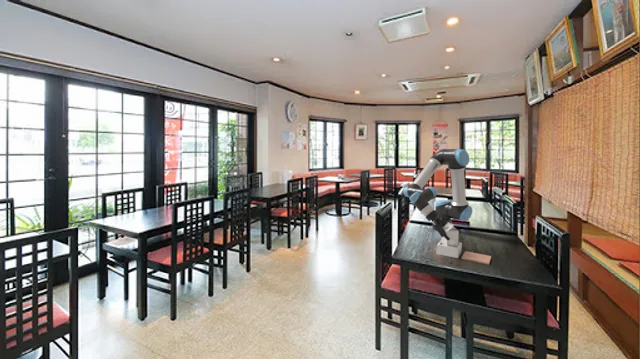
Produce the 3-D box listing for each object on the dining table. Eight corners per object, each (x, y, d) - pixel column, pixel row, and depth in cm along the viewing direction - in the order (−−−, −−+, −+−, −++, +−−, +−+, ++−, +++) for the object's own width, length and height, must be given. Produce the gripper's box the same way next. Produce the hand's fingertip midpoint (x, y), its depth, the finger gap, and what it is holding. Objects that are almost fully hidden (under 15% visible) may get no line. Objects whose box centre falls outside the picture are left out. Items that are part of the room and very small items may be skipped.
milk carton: (451, 250, 180) (453, 221, 178) (457, 255, 173) (459, 224, 171) (440, 251, 180) (442, 221, 178) (446, 255, 173) (447, 224, 171)
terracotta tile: (464, 252, 177) (465, 251, 177) (491, 257, 169) (491, 256, 169) (461, 259, 167) (461, 257, 167) (489, 264, 159) (489, 262, 159)
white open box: (441, 248, 185) (441, 239, 184) (461, 252, 178) (461, 242, 177) (436, 253, 175) (436, 244, 175) (457, 258, 168) (458, 248, 168)
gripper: (429, 213, 192) (453, 239, 185) (419, 220, 174) (446, 250, 167) (438, 206, 188) (463, 233, 181) (429, 212, 170) (456, 243, 163)
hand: (455, 241), depth 174 cm, fingers closed on milk carton, 10 cm apart
